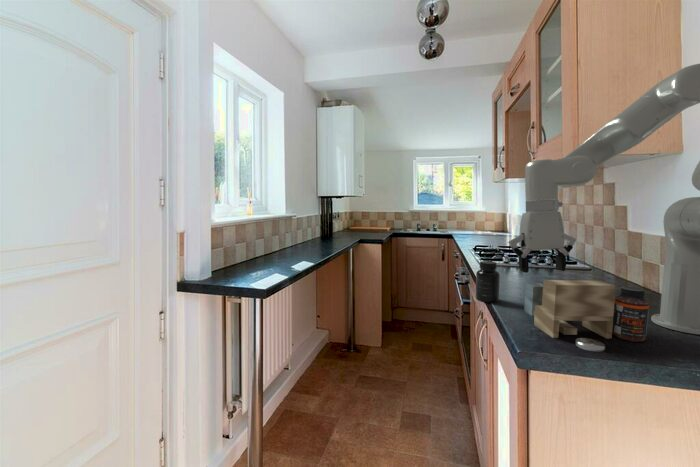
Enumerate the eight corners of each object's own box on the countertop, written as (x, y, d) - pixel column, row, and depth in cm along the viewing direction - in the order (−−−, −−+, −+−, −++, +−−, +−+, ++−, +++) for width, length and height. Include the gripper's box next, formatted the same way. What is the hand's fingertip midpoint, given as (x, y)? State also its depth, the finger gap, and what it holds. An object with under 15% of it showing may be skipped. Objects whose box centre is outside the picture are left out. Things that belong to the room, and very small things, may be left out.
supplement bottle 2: (618, 340, 74) (622, 290, 73) (607, 331, 80) (610, 284, 79) (651, 344, 72) (656, 292, 71) (638, 334, 78) (641, 286, 77)
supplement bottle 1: (479, 296, 110) (481, 259, 109) (501, 299, 106) (503, 262, 105) (472, 300, 105) (473, 262, 104) (495, 304, 101) (496, 264, 100)
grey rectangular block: (538, 311, 94) (540, 283, 94) (579, 334, 77) (581, 300, 77) (524, 311, 94) (525, 283, 94) (561, 334, 77) (563, 300, 77)
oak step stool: (587, 325, 83) (590, 277, 82) (611, 338, 75) (615, 285, 74) (534, 325, 83) (536, 277, 82) (552, 337, 75) (555, 285, 74)
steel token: (592, 343, 73) (592, 337, 73) (610, 353, 68) (611, 347, 68) (570, 343, 73) (570, 337, 73) (586, 353, 68) (587, 347, 68)
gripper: (565, 205, 93) (566, 267, 95) (502, 209, 94) (503, 270, 95) (583, 205, 86) (584, 271, 87) (515, 208, 86) (516, 275, 87)
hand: (542, 270), depth 91 cm, fingers open, 9 cm apart
